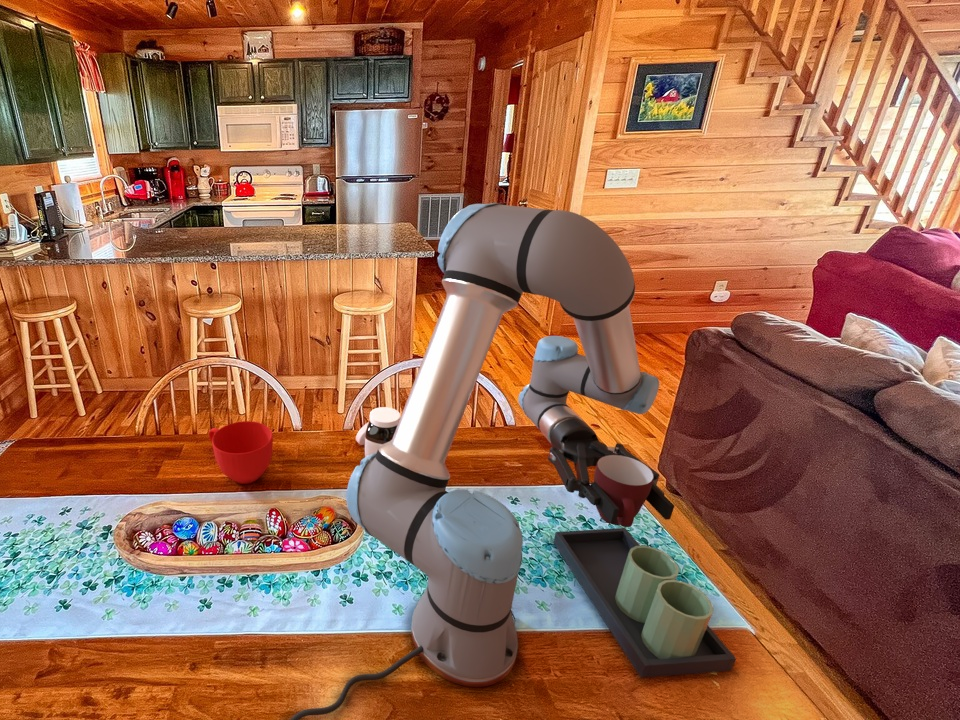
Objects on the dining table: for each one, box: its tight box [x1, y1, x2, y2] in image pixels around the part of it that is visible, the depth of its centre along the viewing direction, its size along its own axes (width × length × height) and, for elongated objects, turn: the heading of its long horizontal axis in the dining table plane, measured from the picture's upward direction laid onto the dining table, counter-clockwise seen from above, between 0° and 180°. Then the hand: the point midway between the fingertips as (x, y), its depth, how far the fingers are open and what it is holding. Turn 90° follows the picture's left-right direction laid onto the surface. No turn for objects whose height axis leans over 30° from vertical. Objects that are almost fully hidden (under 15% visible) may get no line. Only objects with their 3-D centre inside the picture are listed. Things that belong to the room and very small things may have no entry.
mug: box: [593, 455, 654, 528], centre depth 83 cm, size 11×8×10 cm
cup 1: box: [615, 545, 680, 623], centre depth 78 cm, size 6×6×10 cm
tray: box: [553, 527, 737, 679], centre depth 81 cm, size 13×25×3 cm, turn 3°
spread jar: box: [355, 406, 401, 458], centre depth 117 cm, size 12×11×12 cm
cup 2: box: [641, 579, 714, 659], centre depth 72 cm, size 6×6×10 cm
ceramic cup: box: [208, 420, 274, 485], centre depth 112 cm, size 13×17×10 cm
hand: (642, 514), depth 78 cm, fingers closed on mug, 8 cm apart
